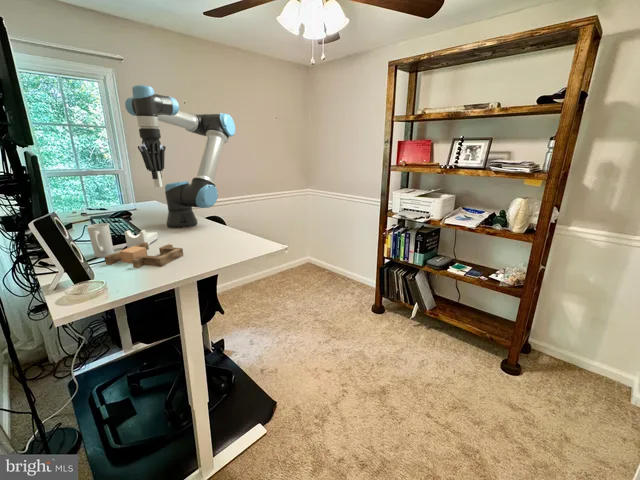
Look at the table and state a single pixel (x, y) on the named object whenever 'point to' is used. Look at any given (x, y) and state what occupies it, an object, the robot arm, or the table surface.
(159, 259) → the brown wooden puzzle piece
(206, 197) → the robot arm
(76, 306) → the table surface
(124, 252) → the block
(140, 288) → the table surface
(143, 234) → the bracket
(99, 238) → the mug
